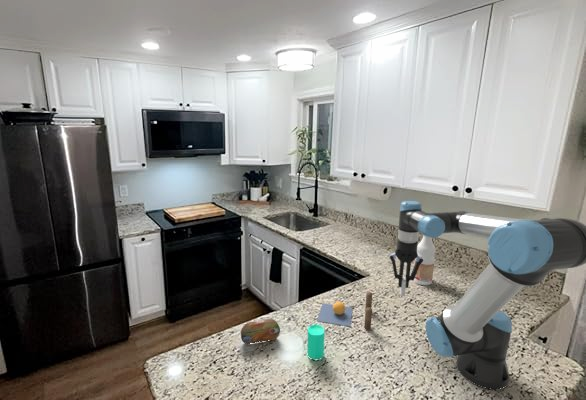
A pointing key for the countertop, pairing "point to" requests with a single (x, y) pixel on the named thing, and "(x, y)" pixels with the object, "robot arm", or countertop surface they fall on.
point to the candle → (315, 341)
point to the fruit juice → (425, 261)
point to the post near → (368, 318)
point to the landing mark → (334, 315)
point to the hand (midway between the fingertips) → (402, 294)
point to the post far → (368, 300)
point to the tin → (260, 331)
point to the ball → (339, 308)
